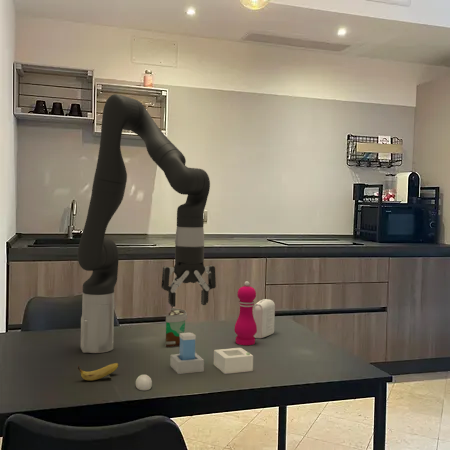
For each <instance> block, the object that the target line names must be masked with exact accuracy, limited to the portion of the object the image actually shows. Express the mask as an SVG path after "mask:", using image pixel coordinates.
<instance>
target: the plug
mask: <svg viewBox="0 0 450 450" xmlns="http://www.w3.org/2000/svg"><path fill="white" fill-rule="evenodd" d="M196 338H197V335H196V334H194V332H184V333H180V345H179V354H180V356H179V359H180V360H192V359H195V353H196Z"/></svg>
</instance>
